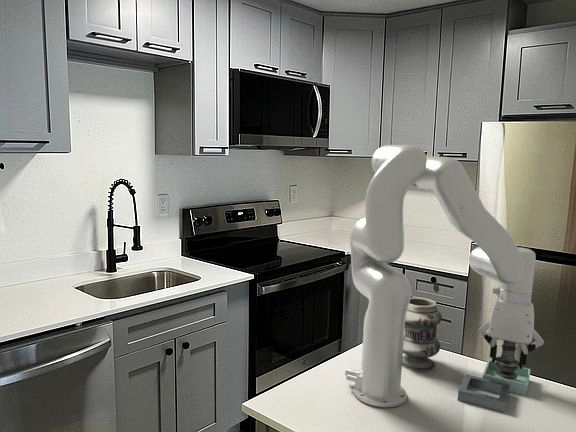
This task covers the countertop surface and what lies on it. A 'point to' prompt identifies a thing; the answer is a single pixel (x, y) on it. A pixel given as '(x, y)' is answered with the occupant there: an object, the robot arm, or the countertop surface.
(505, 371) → the salt shaker
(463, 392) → the grey square frame
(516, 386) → the tray
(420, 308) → the apothecary jar
